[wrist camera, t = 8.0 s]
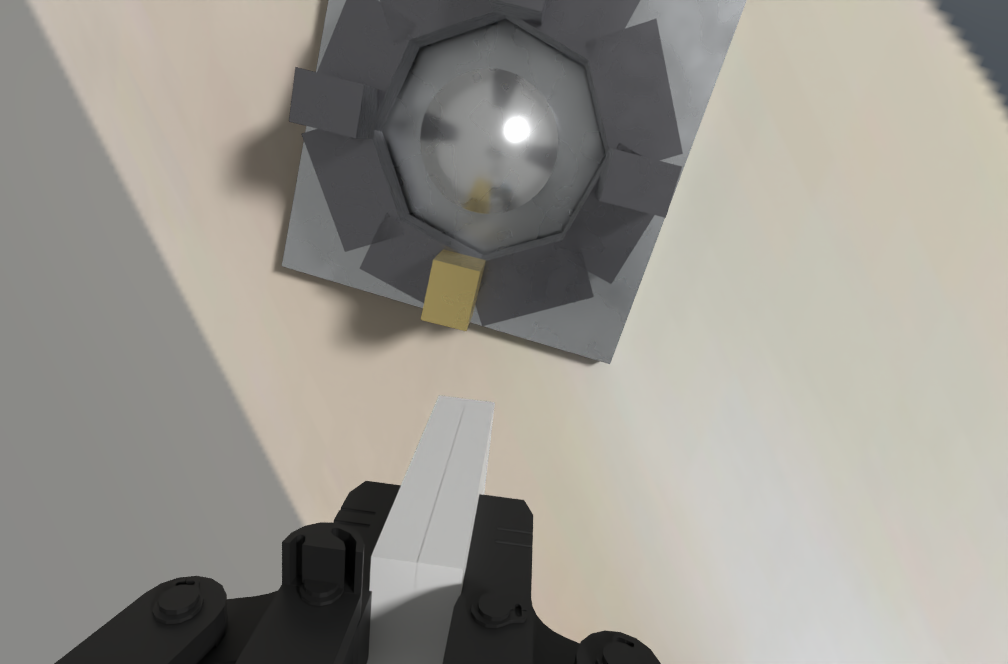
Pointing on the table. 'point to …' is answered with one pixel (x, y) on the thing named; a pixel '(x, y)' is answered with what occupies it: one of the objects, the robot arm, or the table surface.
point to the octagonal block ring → (432, 254)
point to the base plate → (513, 156)
